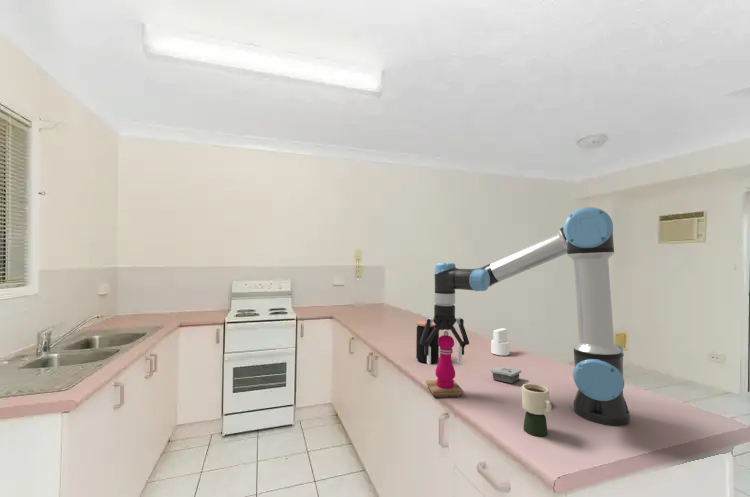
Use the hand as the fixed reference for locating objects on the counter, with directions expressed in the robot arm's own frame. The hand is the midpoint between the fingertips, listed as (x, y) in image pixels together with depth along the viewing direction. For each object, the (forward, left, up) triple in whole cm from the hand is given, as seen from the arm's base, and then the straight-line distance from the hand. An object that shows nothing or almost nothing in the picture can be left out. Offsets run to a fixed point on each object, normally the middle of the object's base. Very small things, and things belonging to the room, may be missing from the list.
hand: (444, 363), depth 127 cm
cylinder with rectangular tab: (+48, -44, -11) cm, 66 cm away
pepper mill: (0, 0, -8) cm, 8 cm away
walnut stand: (0, 0, -10) cm, 10 cm away
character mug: (-30, -18, -11) cm, 37 cm away
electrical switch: (+8, -32, -11) cm, 35 cm away
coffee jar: (+38, -3, -11) cm, 40 cm away
